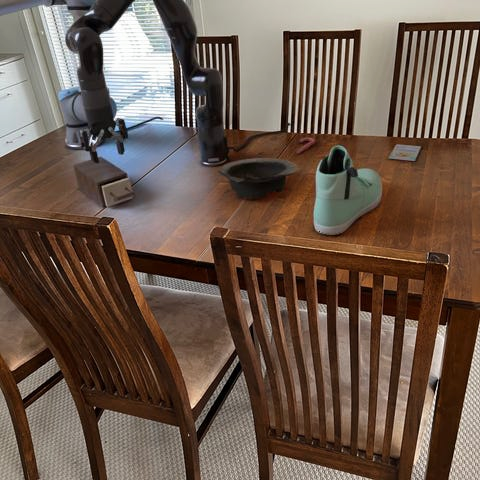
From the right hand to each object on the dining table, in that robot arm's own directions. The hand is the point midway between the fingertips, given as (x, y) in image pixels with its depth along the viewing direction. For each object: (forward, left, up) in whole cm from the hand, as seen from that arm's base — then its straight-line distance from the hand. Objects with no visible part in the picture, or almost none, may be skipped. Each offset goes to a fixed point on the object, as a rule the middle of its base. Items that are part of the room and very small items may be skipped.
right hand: (109, 158), depth 143 cm
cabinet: (+1, -13, -16) cm, 21 cm away
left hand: (+29, -41, +8) cm, 51 cm away
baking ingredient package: (-98, +25, -16) cm, 102 cm away
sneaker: (-54, +44, -16) cm, 72 cm away
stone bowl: (-41, +17, -16) cm, 47 cm away
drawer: (0, -7, -15) cm, 17 cm away
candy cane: (-74, -3, -16) cm, 76 cm away
